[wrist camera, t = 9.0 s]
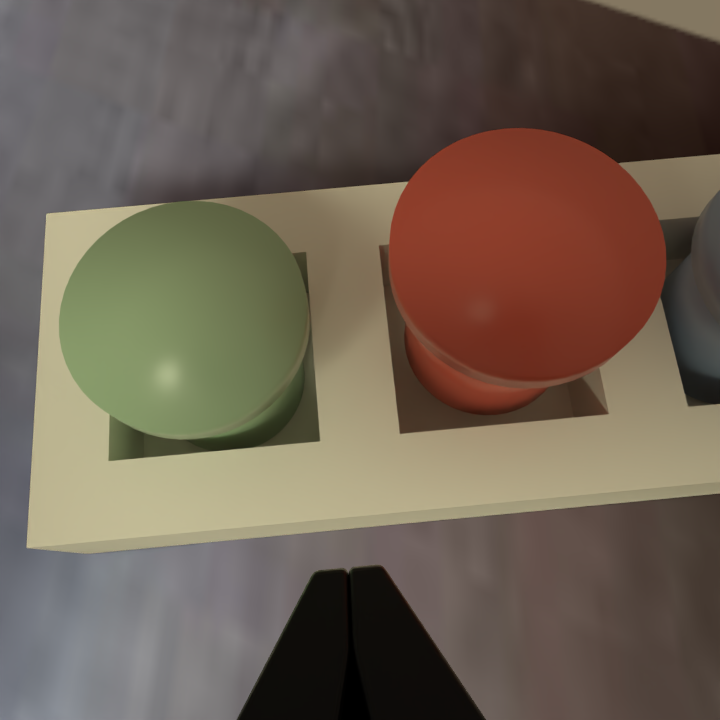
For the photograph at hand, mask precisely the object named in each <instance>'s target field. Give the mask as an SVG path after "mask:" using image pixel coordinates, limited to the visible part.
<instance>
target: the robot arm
mask: <svg viewBox="0 0 720 720" xmlns="http://www.w3.org/2000/svg"><path fill="white" fill-rule="evenodd" d="M237 720H486V719H485V718H484V716H483V715H482V713H481V712H480V710H479V709H478V707H477V706H476V704H475V703H474V701H473V700H472V698H471V697H470V695H469V694H468V692H467V691H466V689H465V688H464V686H463V685H462V683H461V682H460V680H459V679H458V677H457V676H456V674H455V673H454V671H453V670H452V668H451V667H450V665H449V664H448V662H447V661H446V659H445V658H444V656H443V655H442V653H441V652H440V650H439V649H438V647H437V646H436V644H435V643H434V641H433V640H432V638H431V637H430V635H429V634H428V632H427V631H426V629H425V628H424V626H423V625H422V623H421V622H420V620H419V619H418V617H417V616H416V614H415V613H414V611H413V610H412V608H411V607H410V605H409V604H408V602H407V601H406V599H405V598H404V596H403V595H402V593H401V592H400V590H399V589H398V587H397V586H396V584H395V583H394V581H393V580H392V578H391V577H390V575H389V574H388V572H387V571H386V569H385V568H384V567H383V566H381V565H369V566H359V567H353V568H351V569H350V571H349V574H348V571H347V570H346V569H344V568H338V569H328V570H318V571H316V572H314V573H313V575H312V576H311V578H310V580H309V582H308V583H307V585H306V587H305V589H304V591H303V593H302V595H301V597H300V599H299V601H298V603H297V605H296V607H295V608H294V610H293V612H292V614H291V616H290V618H289V620H288V622H287V624H286V626H285V628H284V630H283V632H282V633H281V635H280V637H279V639H278V641H277V643H276V645H275V647H274V649H273V651H272V653H271V655H270V657H269V658H268V660H267V662H266V664H265V666H264V668H263V670H262V672H261V674H260V676H259V678H258V680H257V682H256V683H255V685H254V687H253V689H252V691H251V693H250V695H249V697H248V699H247V701H246V703H245V705H244V707H243V708H242V710H241V712H240V714H239V716H238V718H237Z"/></svg>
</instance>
